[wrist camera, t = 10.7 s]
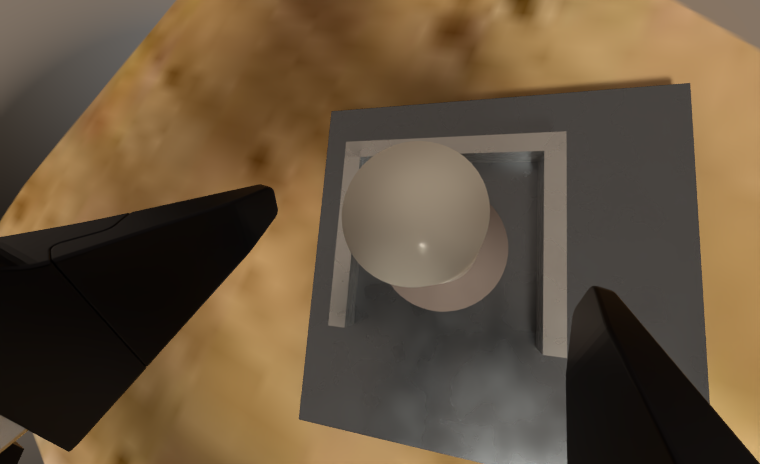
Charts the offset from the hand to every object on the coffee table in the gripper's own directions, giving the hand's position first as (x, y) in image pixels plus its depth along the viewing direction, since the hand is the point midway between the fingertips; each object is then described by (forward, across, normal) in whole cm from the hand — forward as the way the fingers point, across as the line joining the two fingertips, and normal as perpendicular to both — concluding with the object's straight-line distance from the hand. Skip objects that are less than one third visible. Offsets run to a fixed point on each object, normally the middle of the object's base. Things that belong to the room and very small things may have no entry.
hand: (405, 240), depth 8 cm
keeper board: (+8, -2, +7) cm, 11 cm away
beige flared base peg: (+7, 0, +6) cm, 10 cm away
